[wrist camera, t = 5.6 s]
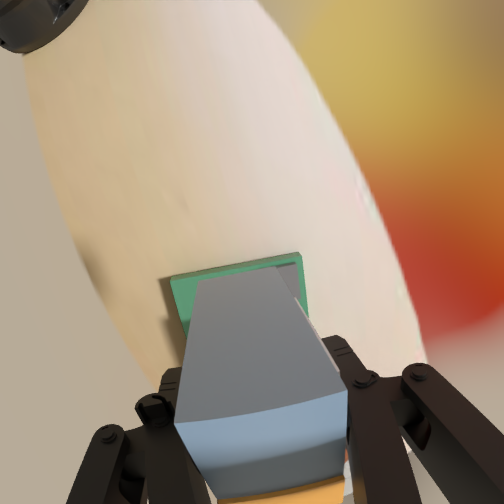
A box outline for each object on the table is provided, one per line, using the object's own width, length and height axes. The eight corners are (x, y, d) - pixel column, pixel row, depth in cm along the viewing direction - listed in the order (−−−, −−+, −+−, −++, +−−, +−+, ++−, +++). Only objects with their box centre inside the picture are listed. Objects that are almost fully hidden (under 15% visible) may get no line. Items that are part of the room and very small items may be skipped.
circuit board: (171, 276, 32) (164, 294, 27) (298, 252, 33) (311, 265, 28) (205, 387, 37) (205, 413, 32) (310, 367, 37) (321, 391, 33)
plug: (198, 280, 15) (172, 429, 6) (275, 265, 16) (350, 394, 6) (223, 373, 17) (231, 524, 7) (289, 360, 17) (342, 502, 7)
